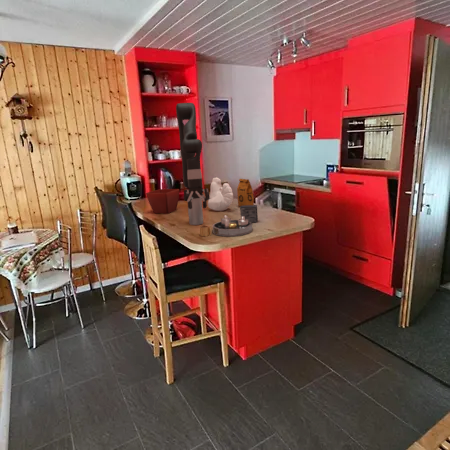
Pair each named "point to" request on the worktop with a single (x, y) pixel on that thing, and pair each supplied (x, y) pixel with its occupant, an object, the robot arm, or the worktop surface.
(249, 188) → the coffee package
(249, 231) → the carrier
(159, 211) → the plant pot
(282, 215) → the worktop surface
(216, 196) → the decorative rooster
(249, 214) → the small box
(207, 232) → the planet gear
